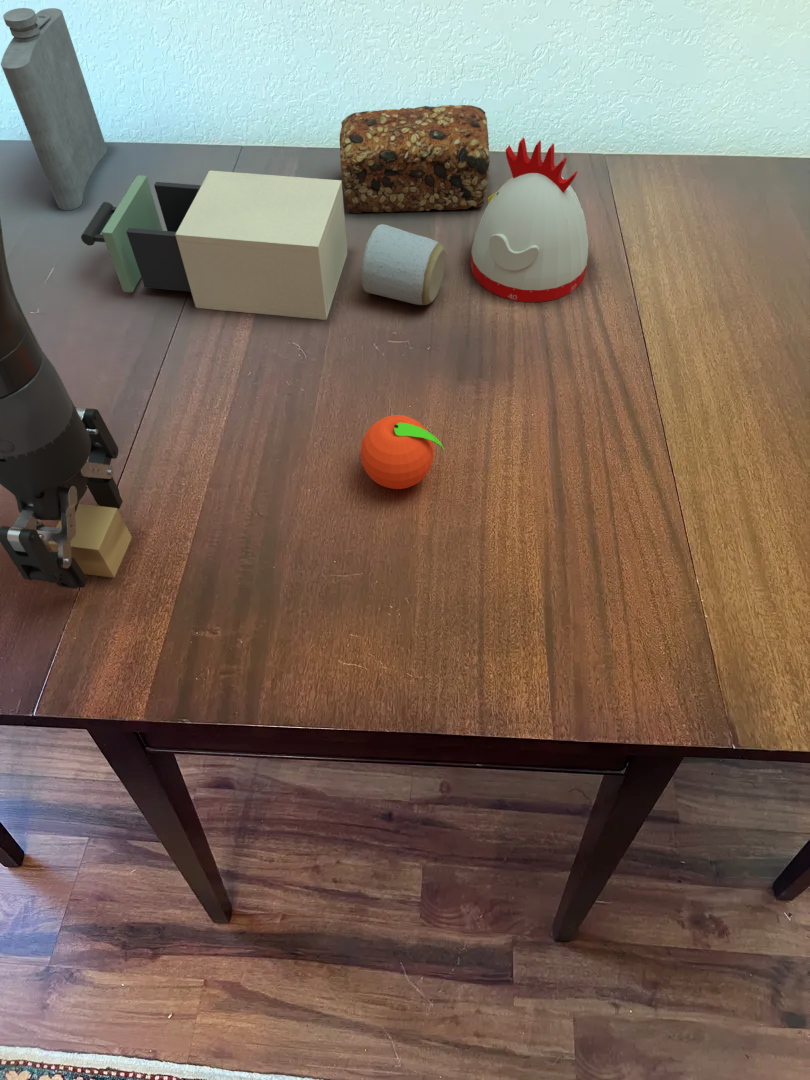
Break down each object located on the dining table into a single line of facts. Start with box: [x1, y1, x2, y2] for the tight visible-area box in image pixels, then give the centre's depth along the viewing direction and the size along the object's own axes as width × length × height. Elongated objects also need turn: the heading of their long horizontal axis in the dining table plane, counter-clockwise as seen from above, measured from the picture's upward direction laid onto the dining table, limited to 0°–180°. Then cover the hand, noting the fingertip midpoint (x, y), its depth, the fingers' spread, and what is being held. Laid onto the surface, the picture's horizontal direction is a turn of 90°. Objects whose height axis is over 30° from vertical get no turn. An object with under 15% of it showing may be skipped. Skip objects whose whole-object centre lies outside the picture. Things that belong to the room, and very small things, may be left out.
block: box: [48, 503, 133, 579], centre depth 69 cm, size 4×4×4 cm
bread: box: [339, 104, 491, 214], centre depth 100 cm, size 19×11×10 cm, turn 91°
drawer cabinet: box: [175, 170, 348, 321], centre depth 90 cm, size 16×13×10 cm
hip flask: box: [0, 7, 108, 211], centre depth 99 cm, size 16×4×20 cm, turn 178°
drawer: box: [80, 174, 202, 293], centre depth 91 cm, size 19×11×8 cm, turn 81°
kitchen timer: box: [470, 137, 589, 303], centre depth 89 cm, size 14×14×15 cm
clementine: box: [360, 414, 446, 490], centre depth 73 cm, size 8×7×7 cm
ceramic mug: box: [361, 223, 447, 306], centre depth 90 cm, size 11×8×8 cm
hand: (94, 543), depth 69 cm, fingers open, 8 cm apart
